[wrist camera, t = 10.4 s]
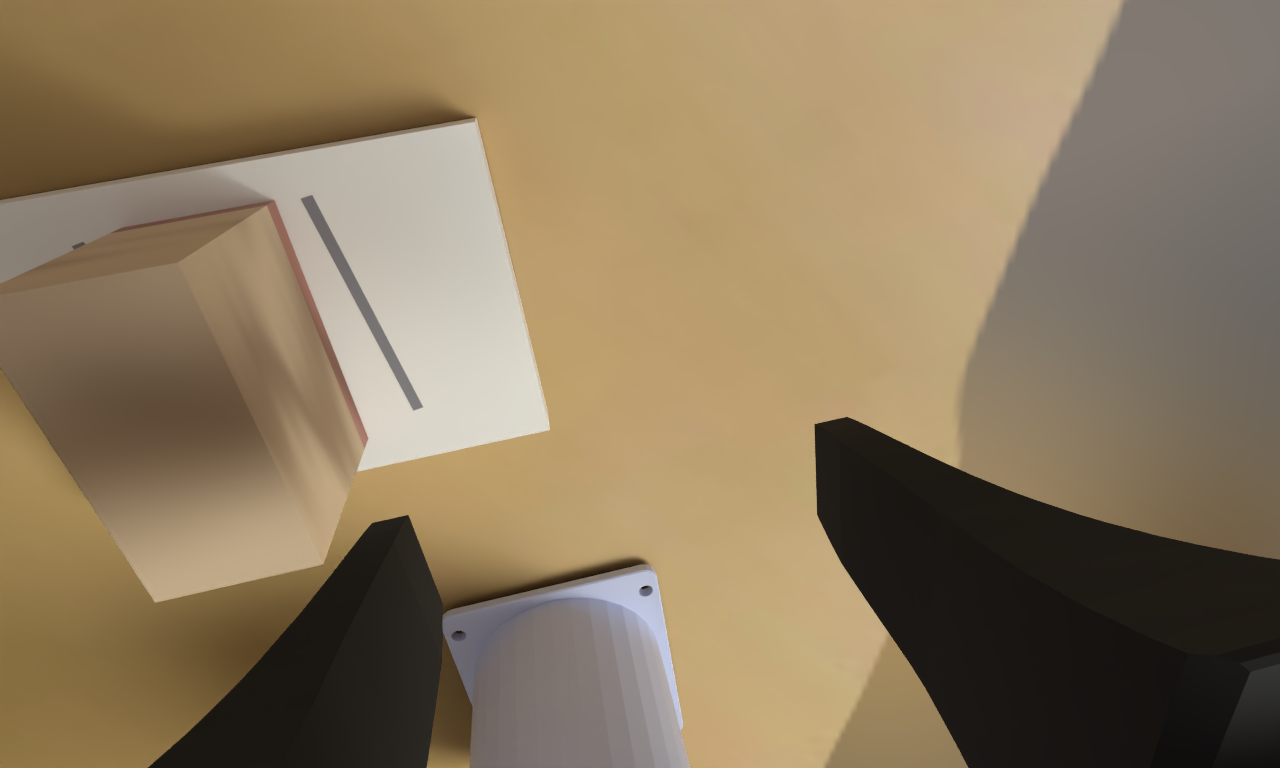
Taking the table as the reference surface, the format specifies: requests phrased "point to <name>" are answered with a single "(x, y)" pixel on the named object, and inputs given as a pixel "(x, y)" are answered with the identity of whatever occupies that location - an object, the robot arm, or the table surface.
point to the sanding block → (190, 395)
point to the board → (358, 272)
